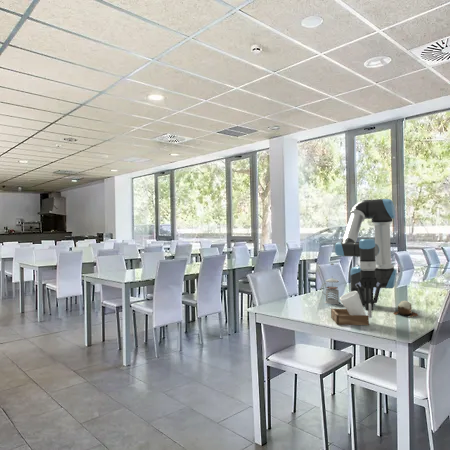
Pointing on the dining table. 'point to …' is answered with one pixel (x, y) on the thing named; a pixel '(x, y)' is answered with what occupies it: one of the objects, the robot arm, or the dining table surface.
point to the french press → (332, 290)
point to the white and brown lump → (405, 309)
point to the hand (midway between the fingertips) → (369, 317)
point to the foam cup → (352, 303)
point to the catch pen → (348, 318)
